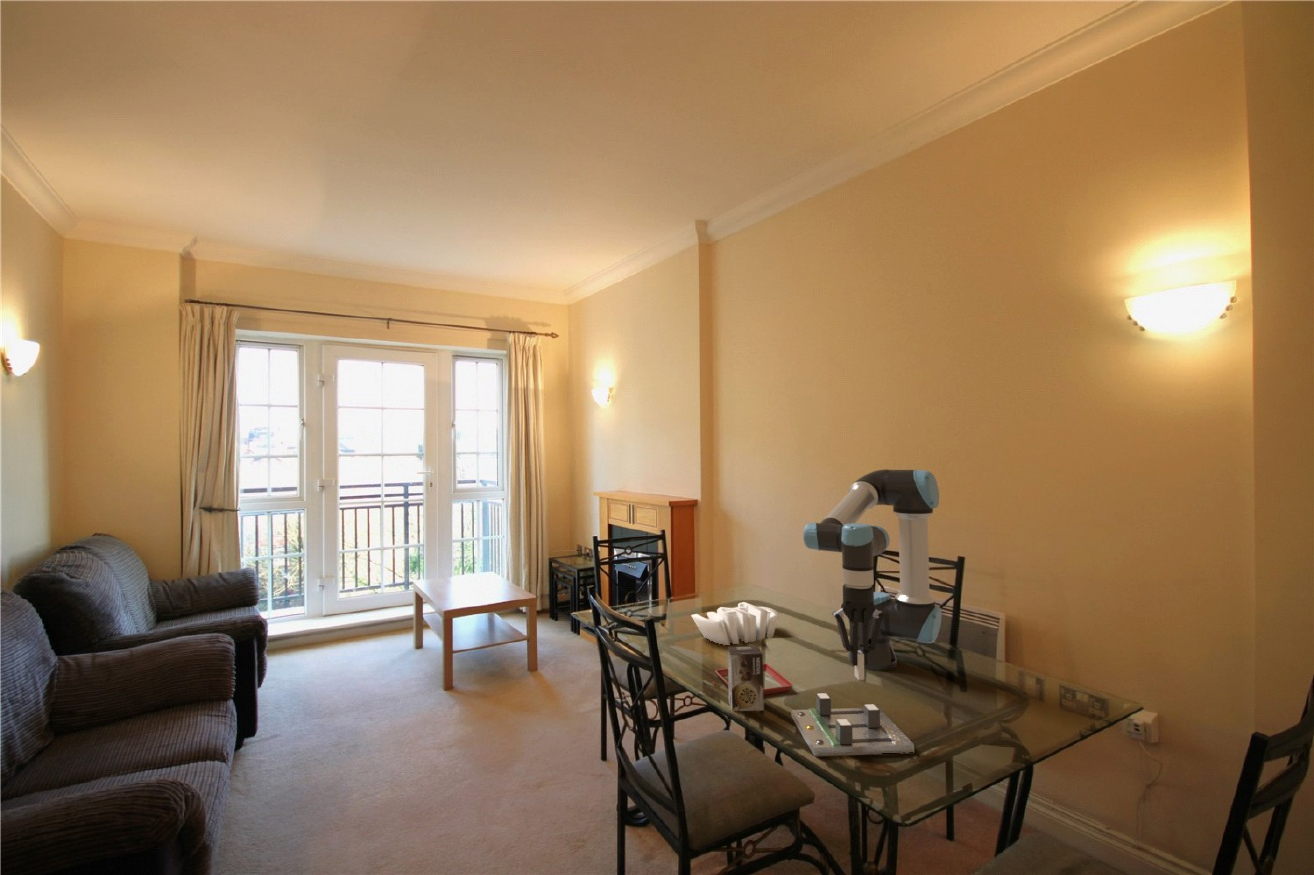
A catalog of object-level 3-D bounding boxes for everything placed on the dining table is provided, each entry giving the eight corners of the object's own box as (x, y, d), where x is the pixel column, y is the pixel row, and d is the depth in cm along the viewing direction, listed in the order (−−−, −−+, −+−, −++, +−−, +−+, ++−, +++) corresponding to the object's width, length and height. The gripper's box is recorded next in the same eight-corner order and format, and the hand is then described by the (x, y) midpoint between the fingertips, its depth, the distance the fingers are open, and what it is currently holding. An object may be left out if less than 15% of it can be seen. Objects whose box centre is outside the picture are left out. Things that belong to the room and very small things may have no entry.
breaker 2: (847, 737, 144) (847, 718, 144) (852, 743, 141) (852, 724, 141) (835, 737, 144) (835, 719, 144) (840, 743, 141) (840, 725, 141)
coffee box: (759, 701, 169) (758, 645, 169) (764, 712, 163) (763, 653, 163) (727, 702, 169) (727, 646, 169) (731, 712, 162) (730, 653, 163)
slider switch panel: (878, 714, 160) (878, 705, 160) (914, 752, 140) (914, 741, 140) (791, 717, 159) (791, 707, 159) (814, 756, 139) (814, 745, 139)
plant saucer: (737, 703, 169) (737, 692, 169) (714, 679, 186) (714, 669, 186) (794, 696, 174) (794, 684, 174) (766, 673, 191) (766, 663, 191)
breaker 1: (827, 709, 159) (827, 693, 159) (831, 714, 156) (830, 697, 156) (816, 710, 159) (816, 693, 159) (819, 715, 156) (819, 698, 156)
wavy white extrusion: (708, 649, 213) (707, 620, 213) (688, 636, 228) (688, 608, 229) (789, 636, 226) (789, 609, 227) (765, 624, 242) (765, 599, 242)
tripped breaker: (875, 721, 152) (874, 704, 152) (880, 727, 149) (879, 709, 149) (863, 722, 152) (863, 704, 152) (868, 727, 149) (868, 709, 149)
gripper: (877, 581, 155) (878, 671, 154) (827, 582, 154) (829, 672, 154) (889, 588, 147) (890, 683, 147) (837, 589, 147) (839, 684, 146)
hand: (859, 677), depth 150 cm, fingers closed
